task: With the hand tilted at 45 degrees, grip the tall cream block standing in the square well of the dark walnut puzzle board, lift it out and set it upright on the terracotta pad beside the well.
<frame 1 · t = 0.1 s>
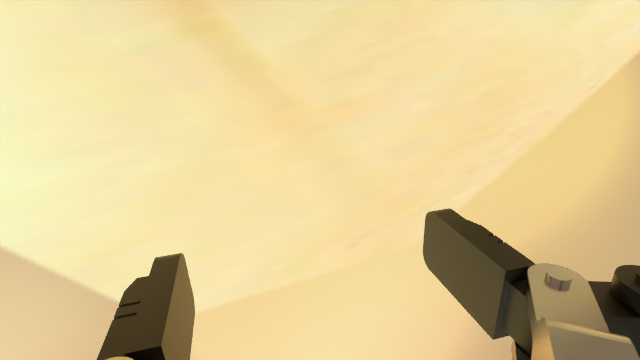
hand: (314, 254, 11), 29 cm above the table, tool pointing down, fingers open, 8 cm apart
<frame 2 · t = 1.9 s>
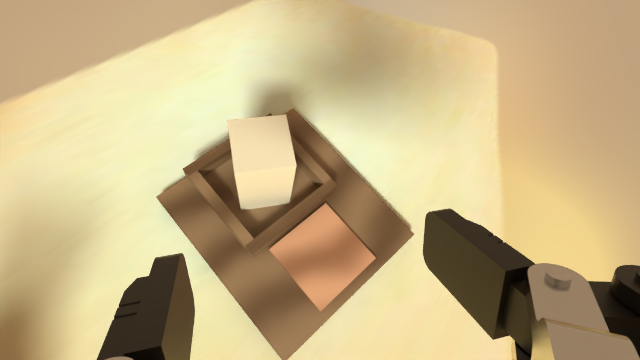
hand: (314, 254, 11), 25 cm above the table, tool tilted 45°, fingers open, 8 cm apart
cream block: (262, 184, 37), point 1 cm above the table, touching puzzle board
puzzle board: (288, 219, 37), on the table
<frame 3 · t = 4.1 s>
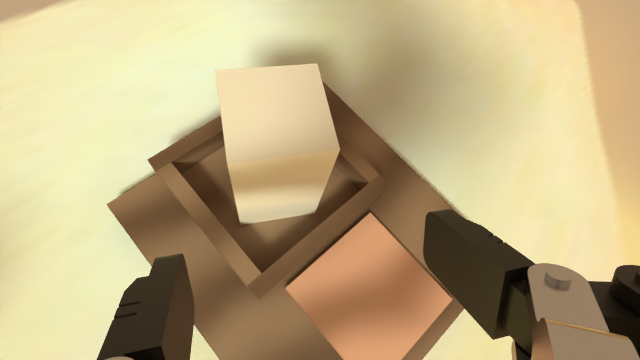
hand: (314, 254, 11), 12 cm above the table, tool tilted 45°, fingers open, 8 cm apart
cream block: (272, 185, 24), point 1 cm above the table, touching puzzle board
puzzle board: (313, 237, 24), on the table
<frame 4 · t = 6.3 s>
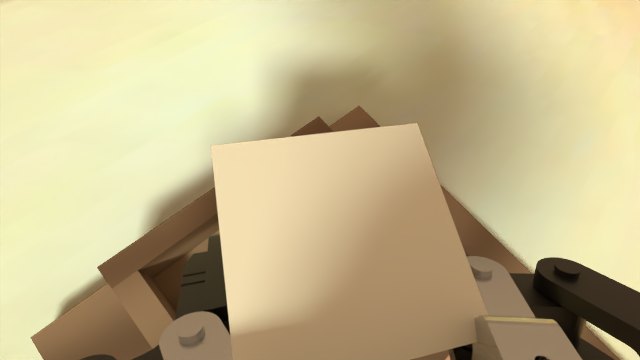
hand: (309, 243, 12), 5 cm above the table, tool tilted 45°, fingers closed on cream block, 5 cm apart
cream block: (303, 289, 15), point 1 cm above the table, touching gripper, puzzle board
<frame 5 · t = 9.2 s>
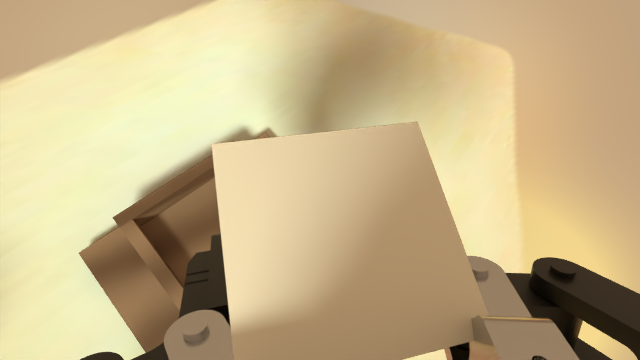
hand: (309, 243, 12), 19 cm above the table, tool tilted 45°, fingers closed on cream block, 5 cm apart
cream block: (303, 288, 15), point 15 cm above the table, touching gripper
puzzle board: (254, 278, 29), on the table
when the fingers open (7 cm above the table, at t = 12.0 s): cream block drops 1 cm, resting on puzzle board.
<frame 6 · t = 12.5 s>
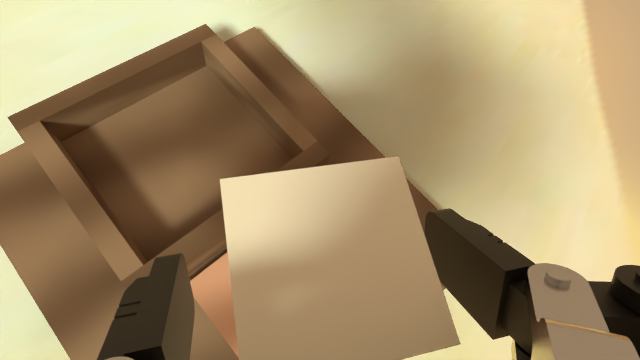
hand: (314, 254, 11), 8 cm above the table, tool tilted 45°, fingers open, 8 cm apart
cream block: (300, 296, 17), point 2 cm above the table, touching puzzle board
puzzle board: (236, 222, 19), on the table
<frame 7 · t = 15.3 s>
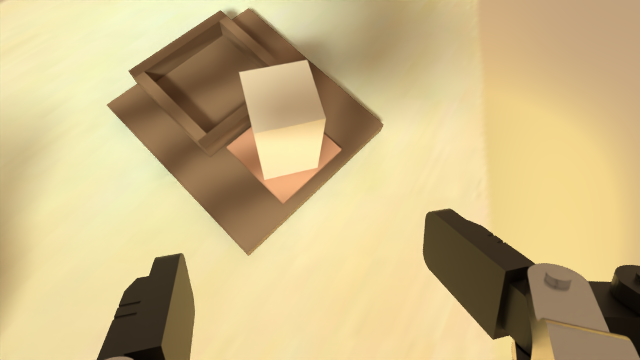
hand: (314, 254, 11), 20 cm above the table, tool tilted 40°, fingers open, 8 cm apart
cream block: (284, 149, 33), point 2 cm above the table, touching puzzle board
puzzle board: (249, 121, 35), on the table
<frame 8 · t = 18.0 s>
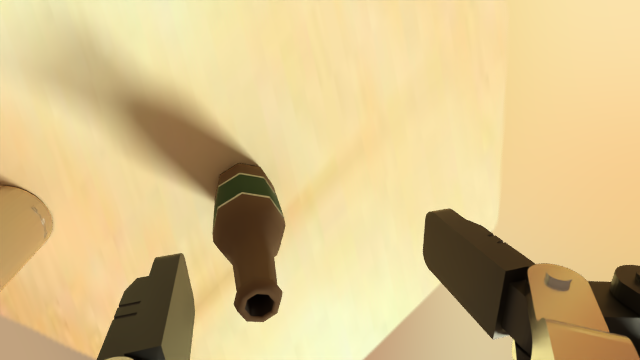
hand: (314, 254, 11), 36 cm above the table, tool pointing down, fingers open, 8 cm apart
beer bottle: (244, 187, 48), on the table
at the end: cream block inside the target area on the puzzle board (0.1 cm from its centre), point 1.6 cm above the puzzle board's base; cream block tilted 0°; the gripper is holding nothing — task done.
